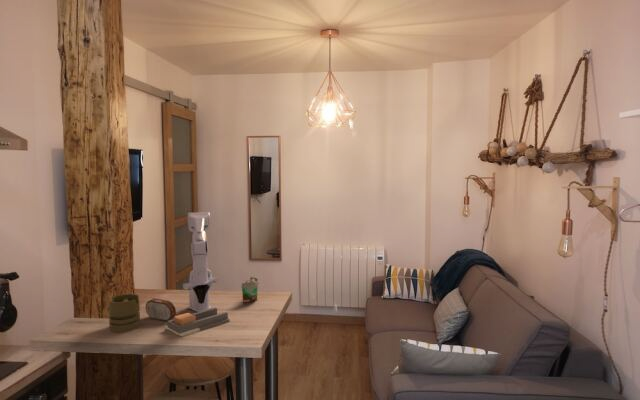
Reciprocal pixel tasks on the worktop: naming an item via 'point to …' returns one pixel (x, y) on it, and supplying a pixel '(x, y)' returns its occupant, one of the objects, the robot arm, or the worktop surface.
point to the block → (184, 318)
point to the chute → (199, 322)
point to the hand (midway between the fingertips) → (201, 302)
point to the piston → (124, 313)
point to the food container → (250, 290)
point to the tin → (160, 309)
